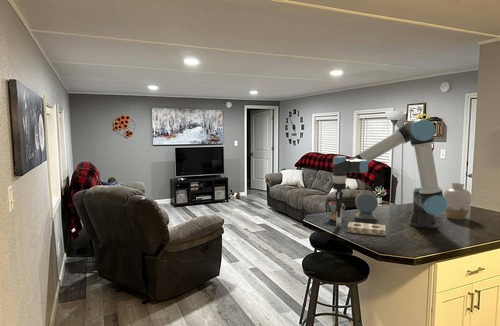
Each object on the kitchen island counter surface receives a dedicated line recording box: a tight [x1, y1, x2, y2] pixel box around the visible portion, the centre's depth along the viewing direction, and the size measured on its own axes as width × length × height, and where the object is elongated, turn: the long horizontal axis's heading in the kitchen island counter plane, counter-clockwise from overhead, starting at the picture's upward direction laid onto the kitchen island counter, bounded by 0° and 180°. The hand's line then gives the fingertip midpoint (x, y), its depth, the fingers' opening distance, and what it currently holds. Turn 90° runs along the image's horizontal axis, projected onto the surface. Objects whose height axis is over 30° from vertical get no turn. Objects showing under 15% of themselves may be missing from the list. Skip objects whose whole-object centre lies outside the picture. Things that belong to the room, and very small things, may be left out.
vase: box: [443, 182, 472, 221], centre depth 222 cm, size 16×16×23 cm
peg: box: [335, 208, 343, 227], centre depth 200 cm, size 3×3×10 cm
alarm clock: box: [354, 189, 379, 220], centre depth 224 cm, size 14×10×18 cm
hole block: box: [347, 221, 386, 237], centre depth 193 cm, size 20×11×3 cm, turn 70°
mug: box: [328, 201, 346, 222], centre depth 217 cm, size 12×9×11 cm
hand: (338, 221), depth 200 cm, fingers closed on peg, 3 cm apart
